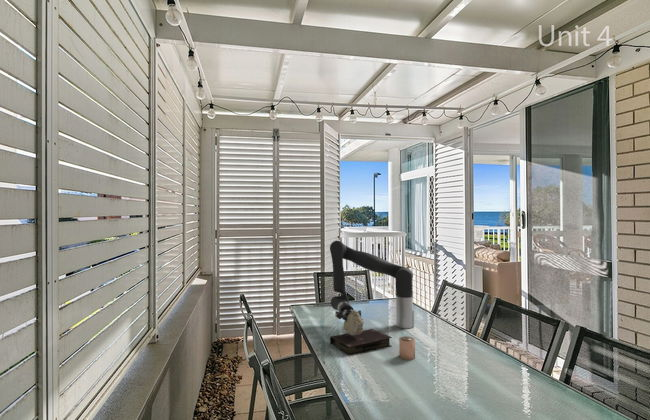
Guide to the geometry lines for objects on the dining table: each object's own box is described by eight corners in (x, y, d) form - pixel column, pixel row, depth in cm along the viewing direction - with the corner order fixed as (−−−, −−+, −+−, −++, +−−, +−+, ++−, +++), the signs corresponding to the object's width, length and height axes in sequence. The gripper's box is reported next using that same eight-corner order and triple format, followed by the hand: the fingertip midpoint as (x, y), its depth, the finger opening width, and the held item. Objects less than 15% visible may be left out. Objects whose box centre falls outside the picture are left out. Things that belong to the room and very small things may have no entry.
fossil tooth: (350, 330, 192) (367, 336, 179) (340, 331, 189) (356, 337, 176) (350, 307, 193) (366, 311, 180) (339, 308, 190) (355, 312, 177)
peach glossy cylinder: (411, 353, 173) (411, 335, 173) (417, 359, 166) (417, 340, 166) (397, 354, 172) (397, 336, 172) (402, 360, 165) (402, 341, 165)
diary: (329, 345, 186) (329, 335, 186) (371, 337, 198) (371, 327, 198) (349, 357, 170) (349, 346, 170) (393, 348, 181) (393, 337, 181)
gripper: (332, 303, 201) (337, 311, 184) (358, 302, 203) (366, 310, 186) (332, 317, 201) (337, 327, 184) (358, 316, 203) (366, 325, 186)
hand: (352, 318), depth 185 cm, fingers closed on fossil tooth, 5 cm apart
